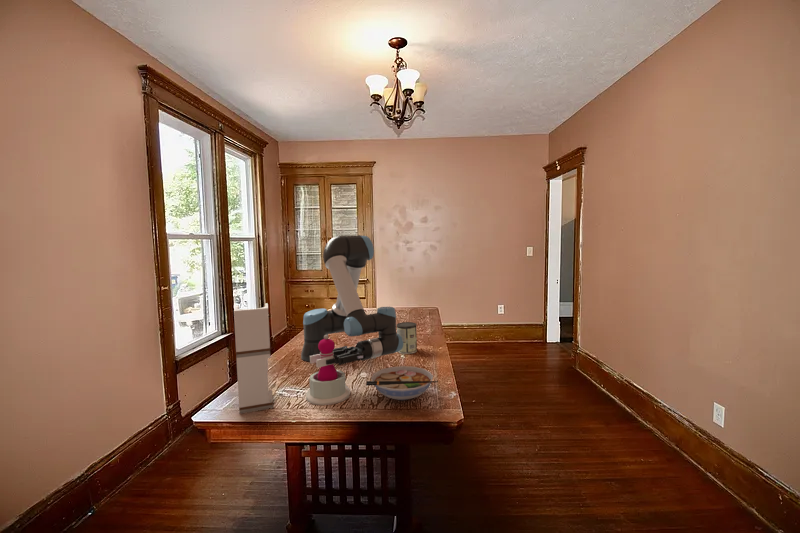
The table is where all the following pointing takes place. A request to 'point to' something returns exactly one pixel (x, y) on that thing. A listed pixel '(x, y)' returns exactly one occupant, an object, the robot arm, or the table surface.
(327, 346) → the pepper mill
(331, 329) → the robot arm
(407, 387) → the ramen bowl
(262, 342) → the spiral stair tower
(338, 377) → the well
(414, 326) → the coffee can
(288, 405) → the table surface
